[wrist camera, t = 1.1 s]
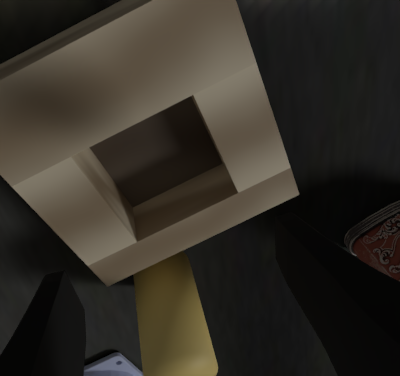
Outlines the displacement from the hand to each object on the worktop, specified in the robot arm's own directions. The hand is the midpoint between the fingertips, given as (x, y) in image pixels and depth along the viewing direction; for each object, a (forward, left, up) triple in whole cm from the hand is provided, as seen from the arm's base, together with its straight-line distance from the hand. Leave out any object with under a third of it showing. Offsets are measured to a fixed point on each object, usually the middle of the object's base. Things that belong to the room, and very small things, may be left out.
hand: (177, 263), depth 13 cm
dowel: (-9, +4, -10) cm, 14 cm away
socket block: (+1, 0, -10) cm, 10 cm away
